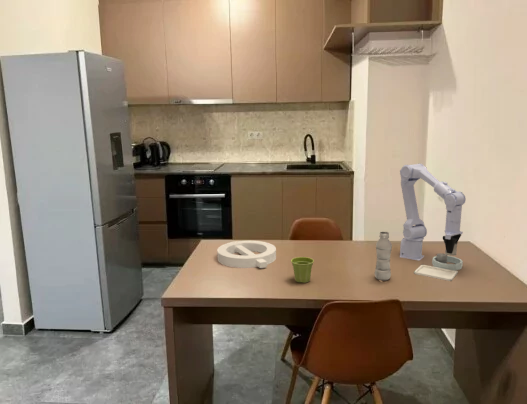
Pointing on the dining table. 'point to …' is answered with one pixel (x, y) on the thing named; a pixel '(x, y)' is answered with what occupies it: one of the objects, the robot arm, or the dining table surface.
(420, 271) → the parts tray
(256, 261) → the white circle with bar
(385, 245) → the plastic bottle
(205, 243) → the dining table surface
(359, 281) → the dining table surface
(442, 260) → the slate capsule
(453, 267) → the bowl
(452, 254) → the grey rounded cylinder
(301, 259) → the plant pot
